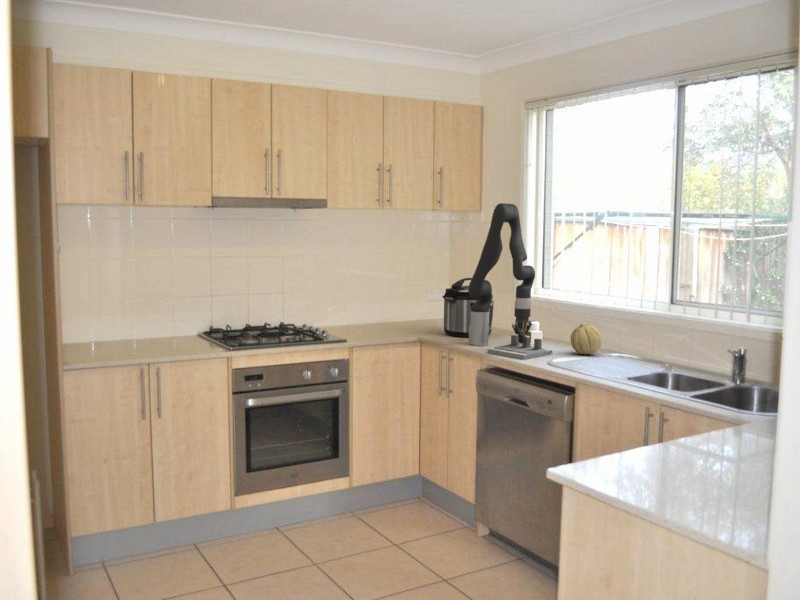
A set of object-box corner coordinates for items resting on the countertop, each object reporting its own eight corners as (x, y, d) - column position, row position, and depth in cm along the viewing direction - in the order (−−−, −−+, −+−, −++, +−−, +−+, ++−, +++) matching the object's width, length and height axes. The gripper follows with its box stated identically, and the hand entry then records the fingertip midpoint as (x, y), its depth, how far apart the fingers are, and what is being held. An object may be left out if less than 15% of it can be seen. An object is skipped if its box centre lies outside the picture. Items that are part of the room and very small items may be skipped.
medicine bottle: (523, 343, 395) (524, 320, 393) (535, 342, 397) (536, 320, 396) (530, 345, 388) (531, 322, 387) (542, 344, 390) (543, 321, 389)
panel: (487, 353, 363) (487, 347, 363) (515, 348, 378) (516, 342, 378) (524, 359, 347) (524, 353, 347) (552, 354, 362) (552, 348, 362)
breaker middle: (521, 348, 366) (521, 335, 365) (525, 347, 368) (525, 335, 367) (526, 349, 363) (526, 336, 363) (530, 348, 365) (530, 336, 365)
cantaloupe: (607, 356, 361) (609, 324, 359) (584, 358, 354) (586, 326, 352) (586, 351, 374) (587, 321, 372) (563, 353, 367) (564, 322, 365)
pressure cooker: (446, 338, 405) (447, 279, 401) (436, 331, 433) (437, 275, 429) (500, 338, 409) (502, 280, 406) (487, 330, 437) (489, 276, 433)
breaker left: (510, 346, 371) (510, 335, 370) (513, 345, 373) (514, 334, 372) (514, 347, 368) (515, 336, 368) (518, 346, 370) (519, 335, 370)
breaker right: (533, 350, 360) (533, 338, 360) (536, 349, 363) (537, 338, 362) (538, 351, 358) (538, 339, 358) (542, 350, 360) (542, 339, 360)
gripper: (525, 305, 368) (523, 340, 370) (507, 307, 359) (506, 343, 361) (537, 307, 363) (535, 342, 365) (520, 308, 354) (518, 345, 356)
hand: (521, 342), depth 363 cm, fingers closed
